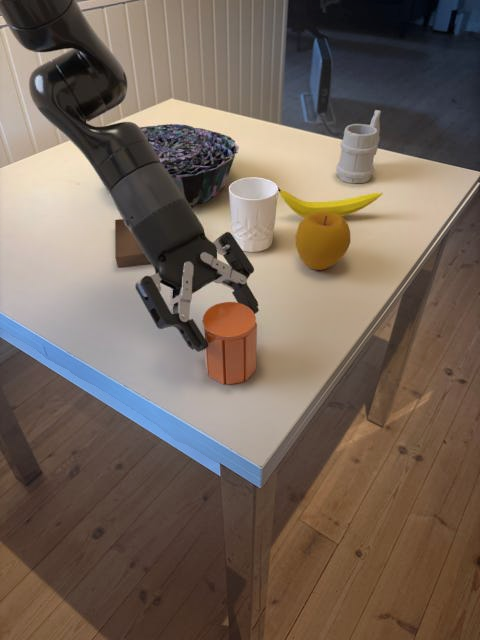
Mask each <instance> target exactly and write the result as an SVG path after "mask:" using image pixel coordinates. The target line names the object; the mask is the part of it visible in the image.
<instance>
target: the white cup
mask: <svg viewBox="0 0 480 640" xmlns="http://www.w3.org/2000/svg"><path fill="white" fill-rule="evenodd" d="M278 187H279V186H278V185H277V183H276V182H274V181H272V180H270V179H268V178H263V177H258V176H257V177H255V176H254V177H253V176H252V177H243V178H239V179H237V180H235V181H233V182H232V183H230V184H229V186H228V197H229V212H230V213H229V214H230V222H231V229H232V236H233V237H234V239H235V240H236V242H237V243H238V245H239V246H240V248H241V249H242V251H243V252H247V253H258V252H263V251H265V250H267V249H269V248H270V247H271V246H272V244H273V239H274V230H275V224H276V218H277V207H278V197H279V191H278Z"/></svg>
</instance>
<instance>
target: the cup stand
mask: <svg viewBox="0 0 480 640" xmlns="http://www.w3.org/2000/svg"><path fill="white" fill-rule="evenodd" d="M114 238H115V239H114V240H115V242H114V245H115V246H114V249H115V250H114V251H115V254H114V255H115V262H116V266H117V268H124V267H132V266H140V265H151V263H150V262H149V260H148V259H147V257H146V256H145V254H144V252H143V251H142V249H141V248H140V246H139V244H138V243H137V241H136V240H135V238H134V236H133V235H132V233H131V232H130V230H129V228H128V227H127V226H126V225H125V223H124V220H123V219H122V218H120V219H114Z"/></svg>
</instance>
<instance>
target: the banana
mask: <svg viewBox="0 0 480 640" xmlns="http://www.w3.org/2000/svg"><path fill="white" fill-rule="evenodd" d="M278 193H279V194H280V196H281V198H282V200H283V201H284V202H285V204H286V205H287V206H288V207H289V208H290V209H291V210H292V211H293V212H294V213H295V214H297V215H298V216H299V217H300V216H301V217H303V218H305V217H306V216H307V215H309V214H312V213H315V212H320V211H327V212H333V213H336V214H338V215H340V216H342V217H345V216H348V215H351V214H354V213H357V212H358V211H361V210H363V209H365V208H366V207H368V206H369V205H372V204H373V203H374V202H375V201H376V200H378V199H379V198H380V197H381V196H382V195H383V192H373V193H367V194H363V195H358V196H354V197H350V198H345V199H337V200H330V201H306V200H303V199H300V198H298V197H297V196H295V195H293V194H291V193H289V192H288V191H286V190H283V189H281V188H280V187H279V186H278Z"/></svg>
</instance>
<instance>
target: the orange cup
mask: <svg viewBox="0 0 480 640" xmlns="http://www.w3.org/2000/svg"><path fill="white" fill-rule="evenodd" d="M201 324H202V335H203V336H204V338H205V340H206V341H207V343H208V347H207V348H206V349H204V350H203V351H204V361H205V362H204V363H205V368H206V373H207V376H209V378H211V380H214V381H216V382H218V383H219V384H222V385H226V386H227V385H234V384H241V383H245V381H248V380H249V379H250V377H251V376H252V375H253V374H254V373H255V372H256V370H257V348H258V347H257V345H258V343H257V341H258V323H257V317H256V314H254V312H253V311H252V310H251V309H250V308H249V307H248V306H246V305H244V304H241V303H238V302H237V301H224V302H219V303H216V304H214V305H212V306H211V307H209V308H208V309H207V310H205V312H204V314H203V317H202V320H201Z"/></svg>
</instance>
